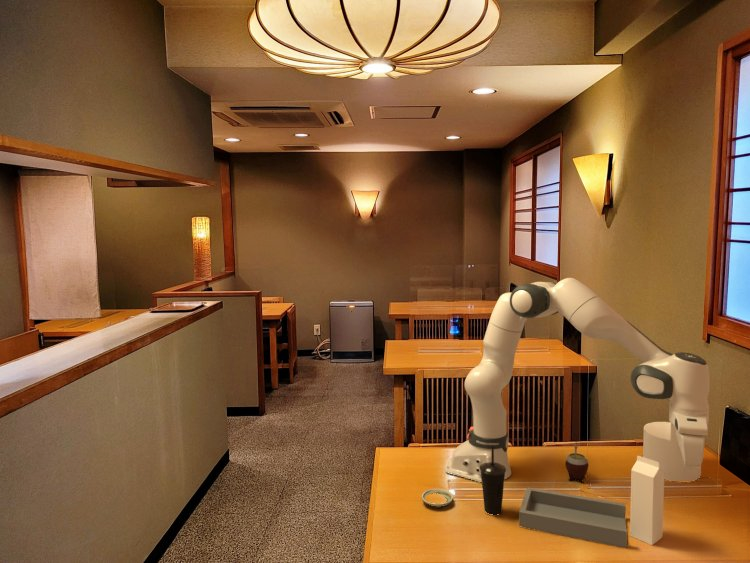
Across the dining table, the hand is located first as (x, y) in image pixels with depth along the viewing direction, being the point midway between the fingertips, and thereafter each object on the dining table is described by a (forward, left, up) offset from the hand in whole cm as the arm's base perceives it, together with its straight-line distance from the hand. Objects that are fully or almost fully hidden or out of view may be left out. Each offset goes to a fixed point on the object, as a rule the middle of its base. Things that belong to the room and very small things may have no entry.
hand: (687, 467), depth 139 cm
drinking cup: (-50, -2, -21) cm, 54 cm away
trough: (-27, 0, -21) cm, 34 cm away
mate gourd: (-28, +27, -21) cm, 44 cm away
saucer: (-67, -3, -21) cm, 70 cm away
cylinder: (+1, +45, -21) cm, 50 cm away
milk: (-9, 0, -21) cm, 23 cm away
